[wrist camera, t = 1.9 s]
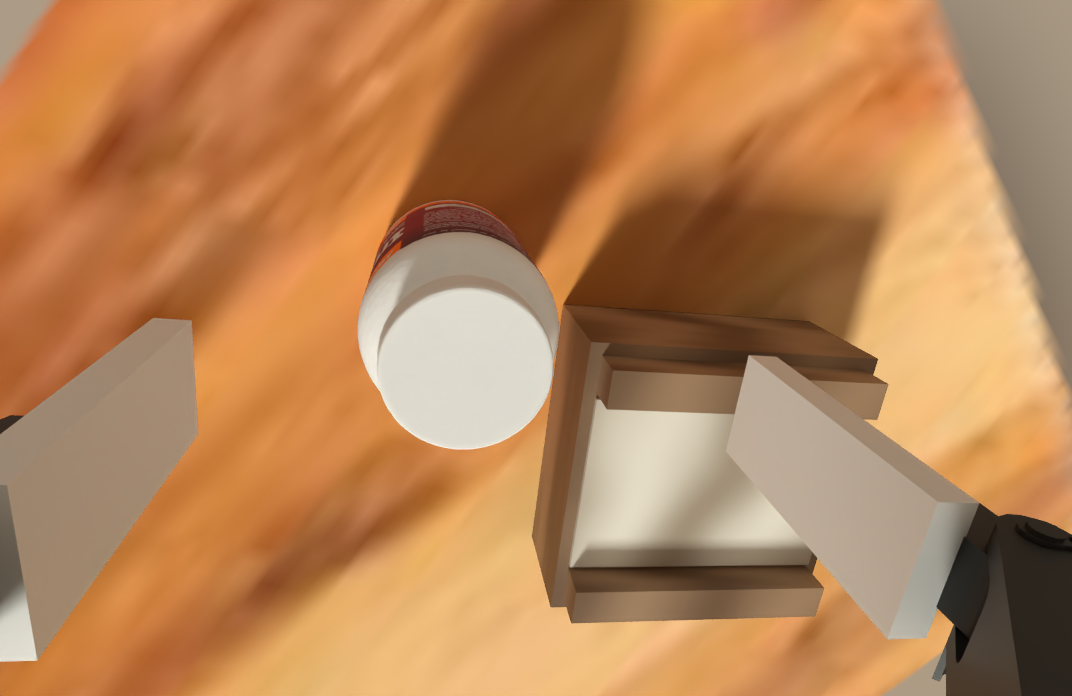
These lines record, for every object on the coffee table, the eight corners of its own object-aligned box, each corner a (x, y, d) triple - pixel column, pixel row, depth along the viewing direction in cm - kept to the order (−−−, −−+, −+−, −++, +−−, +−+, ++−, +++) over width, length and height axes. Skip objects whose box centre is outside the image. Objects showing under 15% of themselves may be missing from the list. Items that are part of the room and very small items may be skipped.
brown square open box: (531, 536, 32) (557, 633, 26) (563, 304, 28) (601, 356, 22) (752, 536, 35) (822, 625, 29) (809, 321, 31) (903, 372, 25)
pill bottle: (374, 192, 26) (344, 245, 15) (529, 202, 27) (596, 259, 17) (373, 340, 28) (346, 474, 17) (517, 345, 29) (570, 473, 19)
